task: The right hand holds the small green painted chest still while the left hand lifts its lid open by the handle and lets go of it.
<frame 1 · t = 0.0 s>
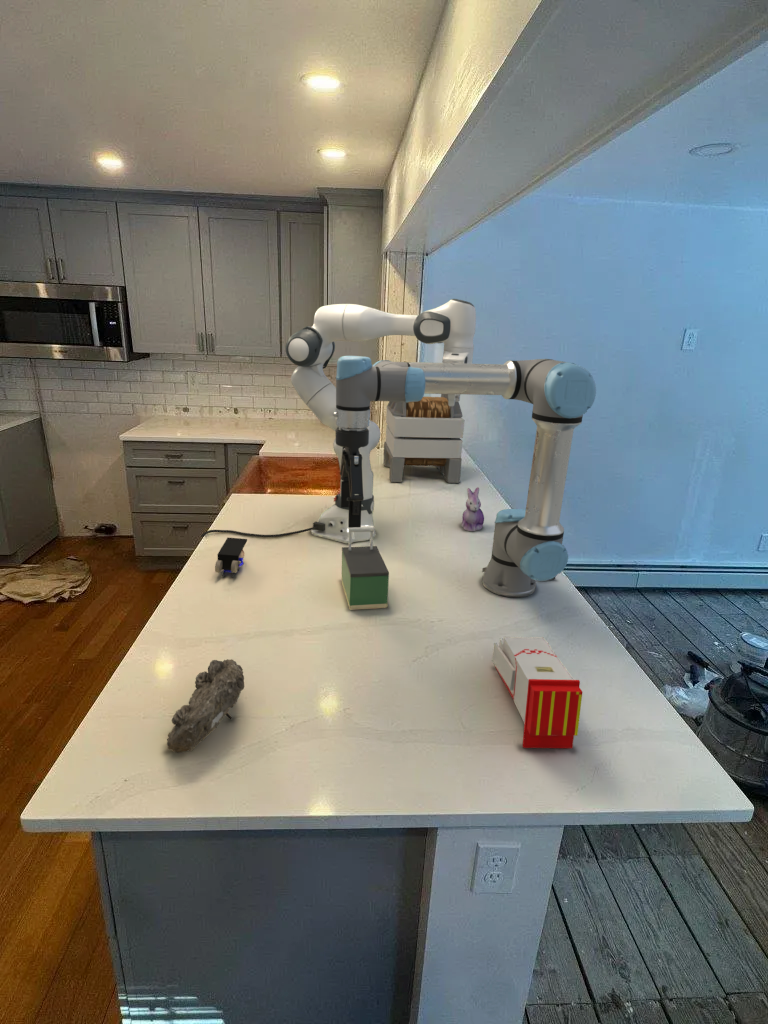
left hand: (454, 403, 174), 48 cm above the counter, tool pointing down, fingers open, 8 cm apart
right hand: (350, 516, 134), 28 cm above the counter, tool pointing down, fingers open, 13 cm apart
chest: (363, 593, 157), on the counter
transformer: (419, 473, 275), on the counter
lid: (364, 548, 153), point 13 cm above the counter, hinge at 0.0°
figurine: (472, 527, 209), on the counter
toy: (527, 700, 117), on the counter
fossil: (212, 717, 108), on the counter
black boxy wheeled piece: (232, 569, 168), on the counter
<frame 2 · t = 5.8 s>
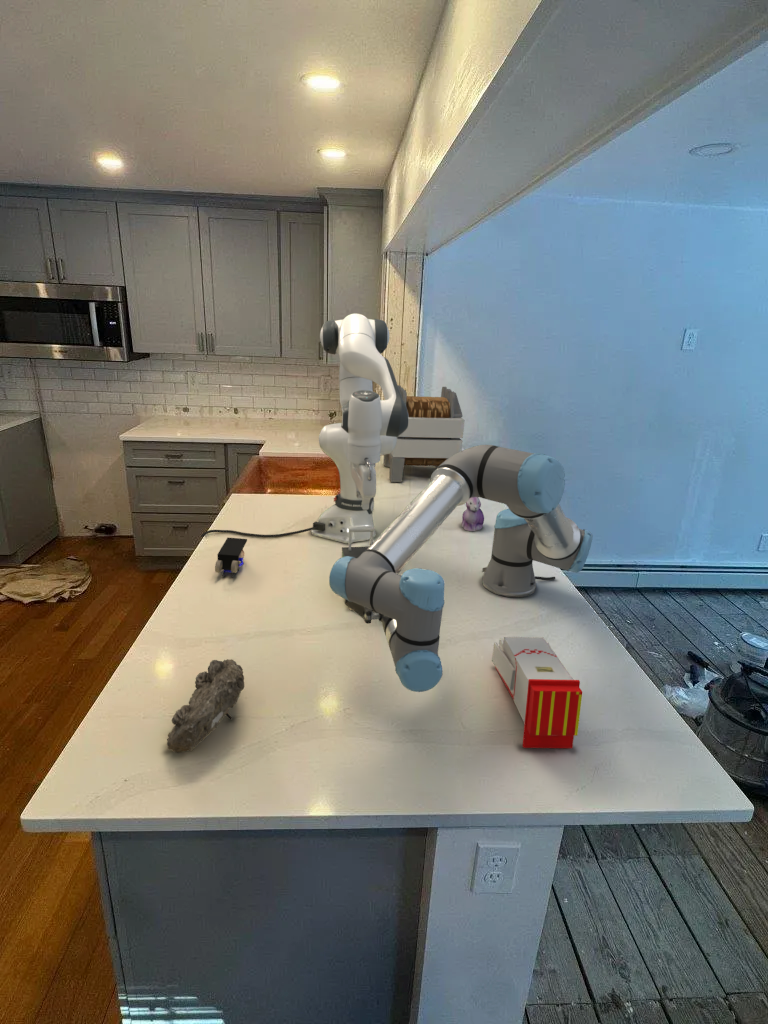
left hand: (362, 503, 155), 24 cm above the counter, tool pointing down, fingers open, 8 cm apart
right hand: (386, 583, 128), 16 cm above the counter, tool horizontal, fingers open, 13 cm apart
nothing on the counter moved.
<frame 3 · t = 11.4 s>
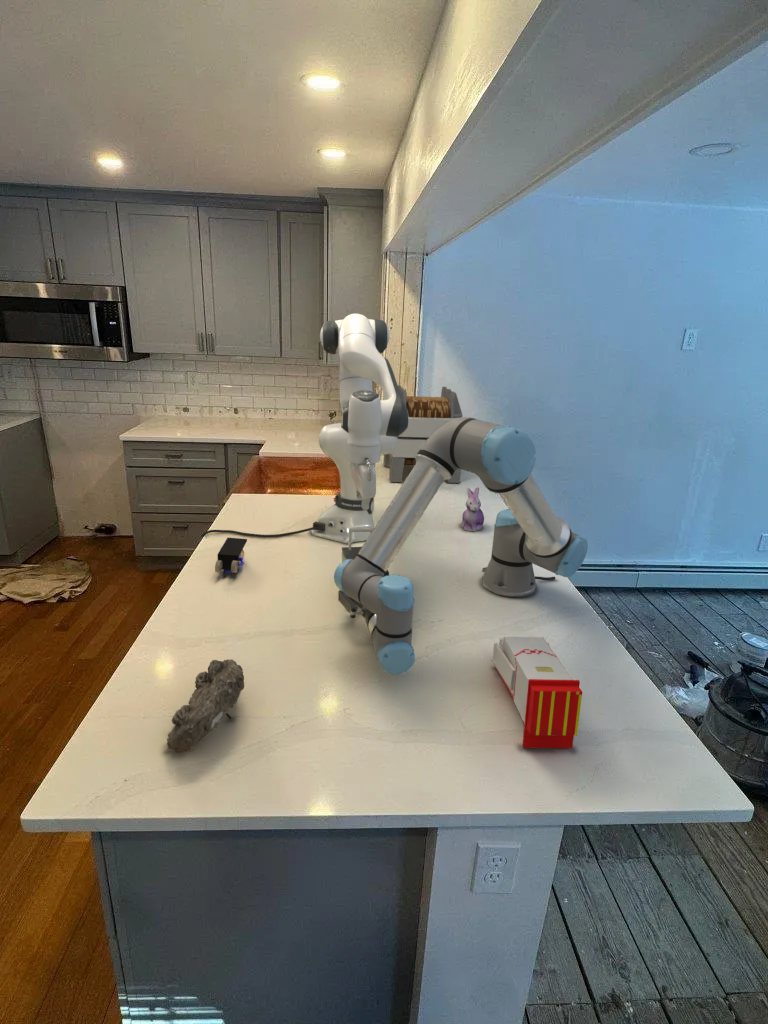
left hand: (362, 503, 155), 24 cm above the counter, tool pointing down, fingers open, 8 cm apart
right hand: (367, 579, 150), 7 cm above the counter, tool horizontal, fingers closed on chest, 10 cm apart
chest: (363, 593, 157), on the counter, touching right hand
everything else where it was.
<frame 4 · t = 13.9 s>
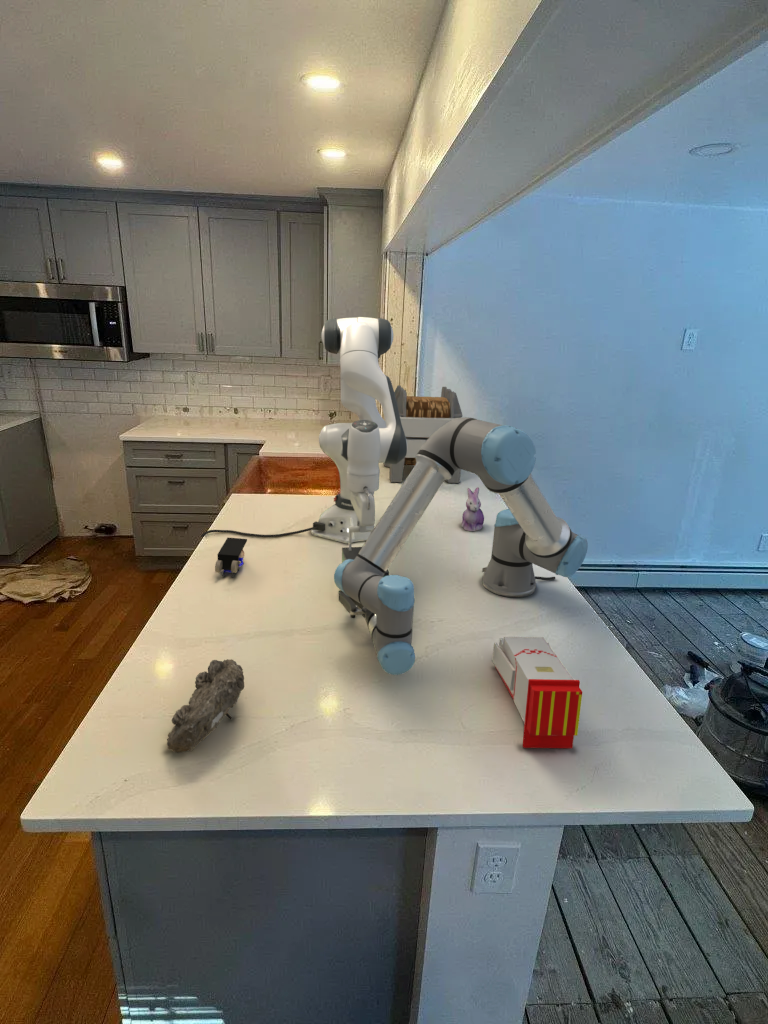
left hand: (361, 529, 158), 17 cm above the counter, tool pointing down, fingers closed on lid, 2 cm apart
right hand: (367, 579, 150), 7 cm above the counter, tool horizontal, fingers closed on chest, 10 cm apart
chest: (363, 593, 157), on the counter, touching right hand
lid: (364, 548, 153), point 13 cm above the counter, hinge at -0.2°, touching left hand
everything else where it was.
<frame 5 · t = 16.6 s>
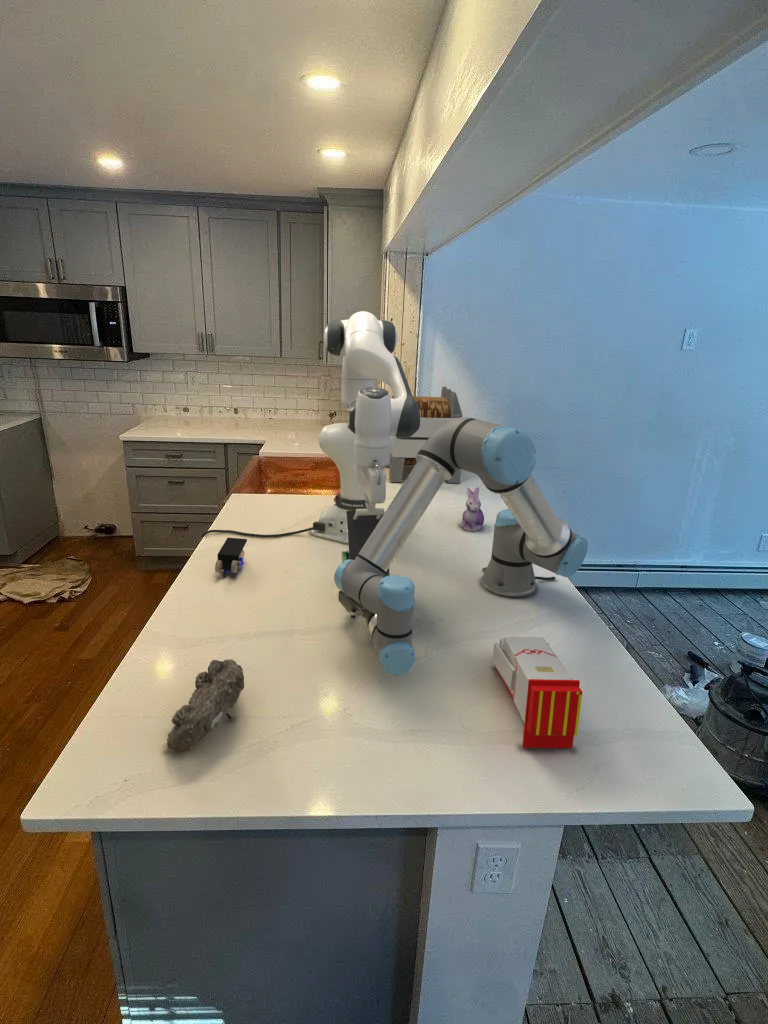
left hand: (370, 509, 143), 27 cm above the counter, tool pointing down, fingers closed, pressing on lid
right hand: (367, 580, 150), 7 cm above the counter, tool horizontal, fingers closed on chest, 10 cm apart
chest: (363, 593, 157), on the counter, touching right hand
lid: (369, 539, 145), point 19 cm above the counter, hinge at 54.9°, touching left hand
everything else where it was.
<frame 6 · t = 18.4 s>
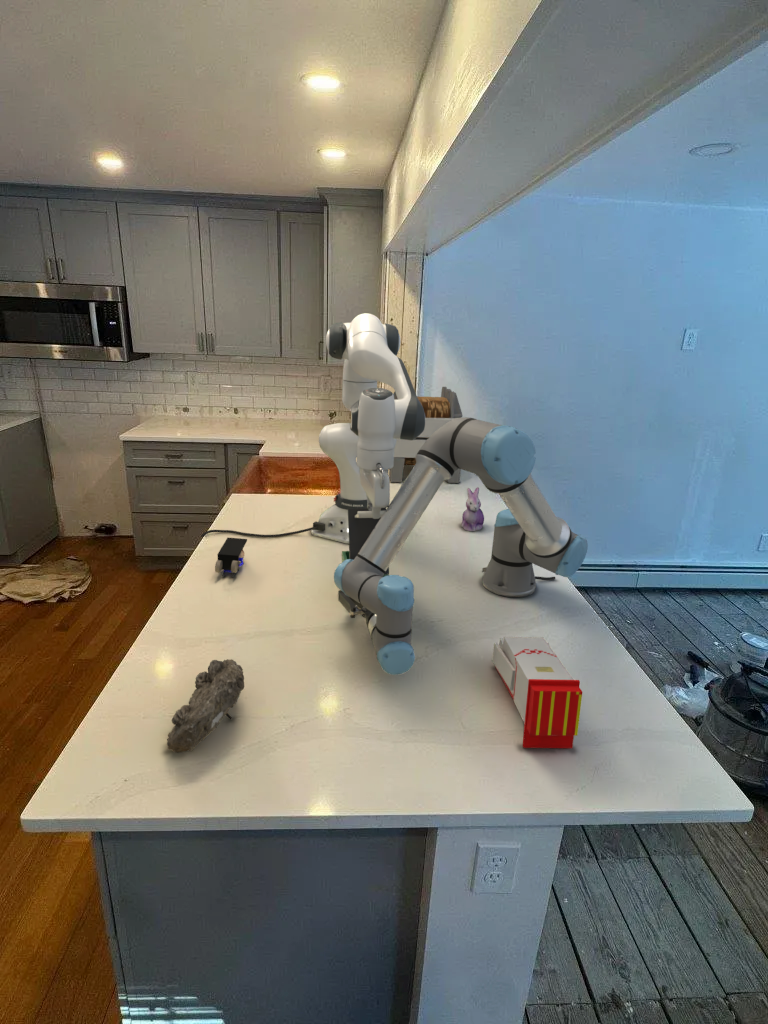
left hand: (373, 513, 139), 27 cm above the counter, tool pointing down, fingers open, 4 cm apart
right hand: (367, 579, 150), 7 cm above the counter, tool horizontal, fingers closed on chest, 10 cm apart
chest: (363, 593, 157), on the counter, touching right hand
lid: (370, 540, 143), point 19 cm above the counter, hinge at 64.5°, touching left hand
everything else where it was.
when the right hand's fingers open (7 cm above the counter, at t = 21.6 s): chest stays where it is, on the counter.
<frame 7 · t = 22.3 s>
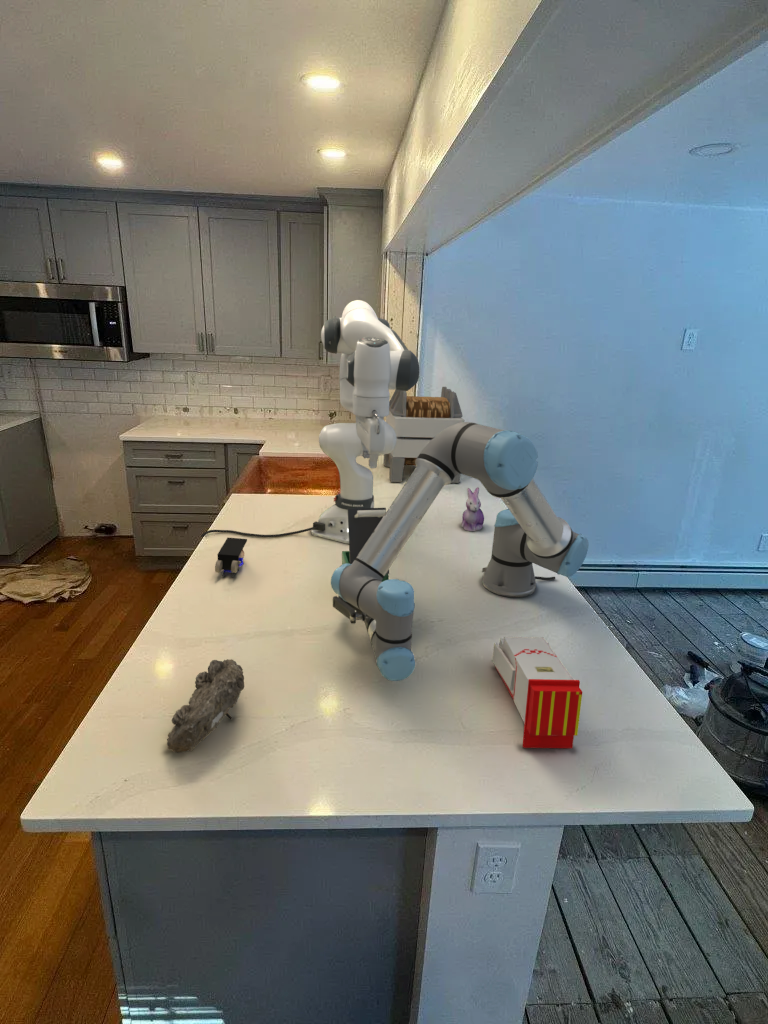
left hand: (369, 462, 143), 38 cm above the counter, tool pointing down, fingers open, 8 cm apart
right hand: (368, 584, 147), 7 cm above the counter, tool horizontal, fingers open, 13 cm apart
chest: (363, 593, 157), on the counter
lid: (370, 540, 144), point 19 cm above the counter, hinge at 63.0°
everything else where it was.
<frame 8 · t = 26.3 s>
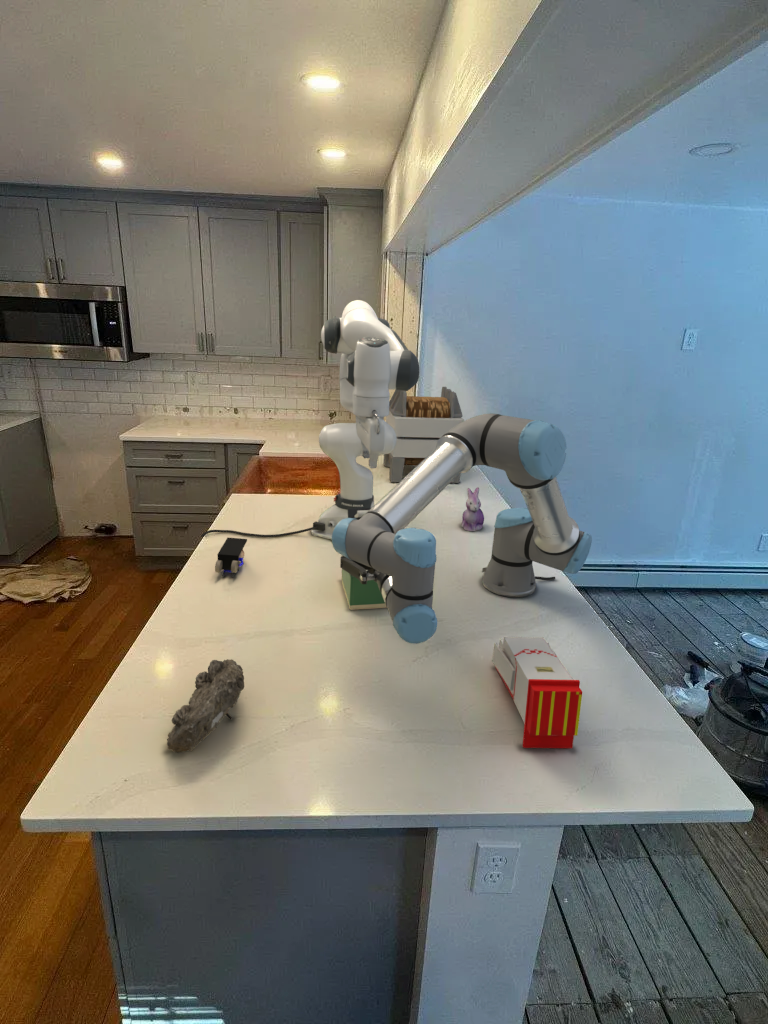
left hand: (369, 462, 143), 38 cm above the counter, tool pointing down, fingers open, 8 cm apart
right hand: (379, 546, 133), 22 cm above the counter, tool horizontal, fingers open, 13 cm apart
nothing on the counter moved.
at the end: lid at +63° (first picture: +0°); the left hand is holding nothing; the right hand is holding nothing; chest tilted 0°; chest never tilted more than 1° during the clip; chest moved 0.1 cm from its start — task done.
